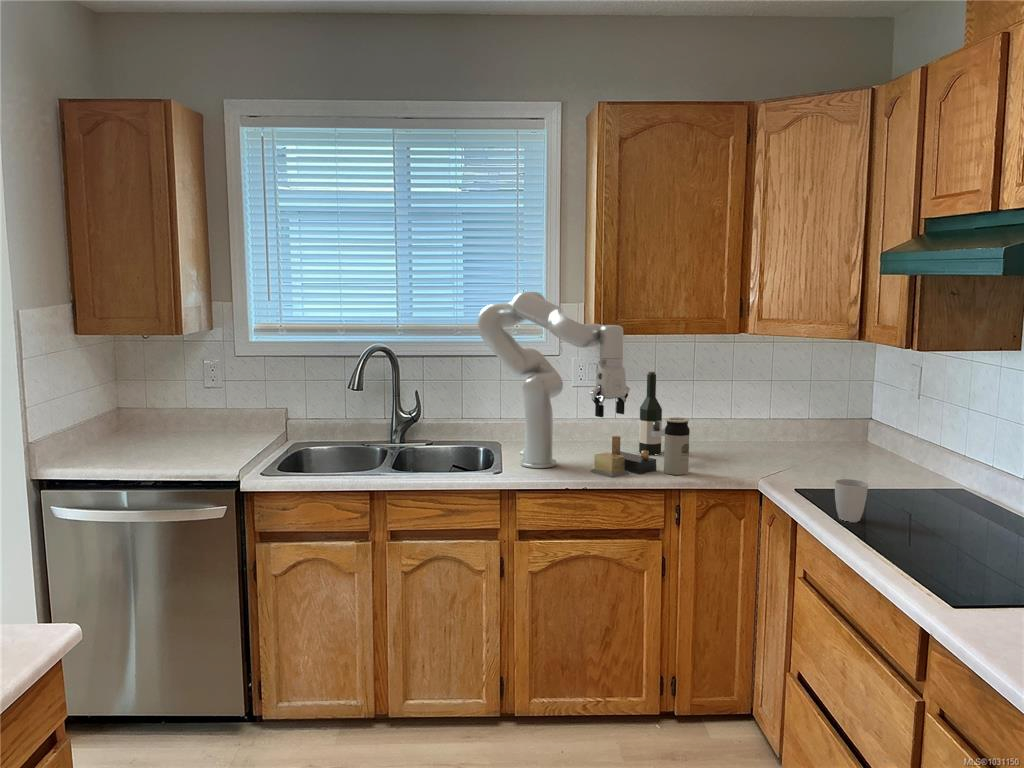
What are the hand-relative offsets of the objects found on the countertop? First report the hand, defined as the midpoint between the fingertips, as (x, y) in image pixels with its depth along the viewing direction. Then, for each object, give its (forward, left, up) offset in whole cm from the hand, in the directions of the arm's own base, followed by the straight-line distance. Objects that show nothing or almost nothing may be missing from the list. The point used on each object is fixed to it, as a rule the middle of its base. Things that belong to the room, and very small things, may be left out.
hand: (609, 415), depth 263 cm
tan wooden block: (0, 0, -19) cm, 19 cm away
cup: (+77, +11, -20) cm, 80 cm away
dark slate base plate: (0, +10, -19) cm, 22 cm away
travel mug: (+14, +17, -20) cm, 29 cm away
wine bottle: (-12, +34, -20) cm, 41 cm away
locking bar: (0, +30, -10) cm, 31 cm away
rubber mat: (0, 0, -19) cm, 19 cm away
